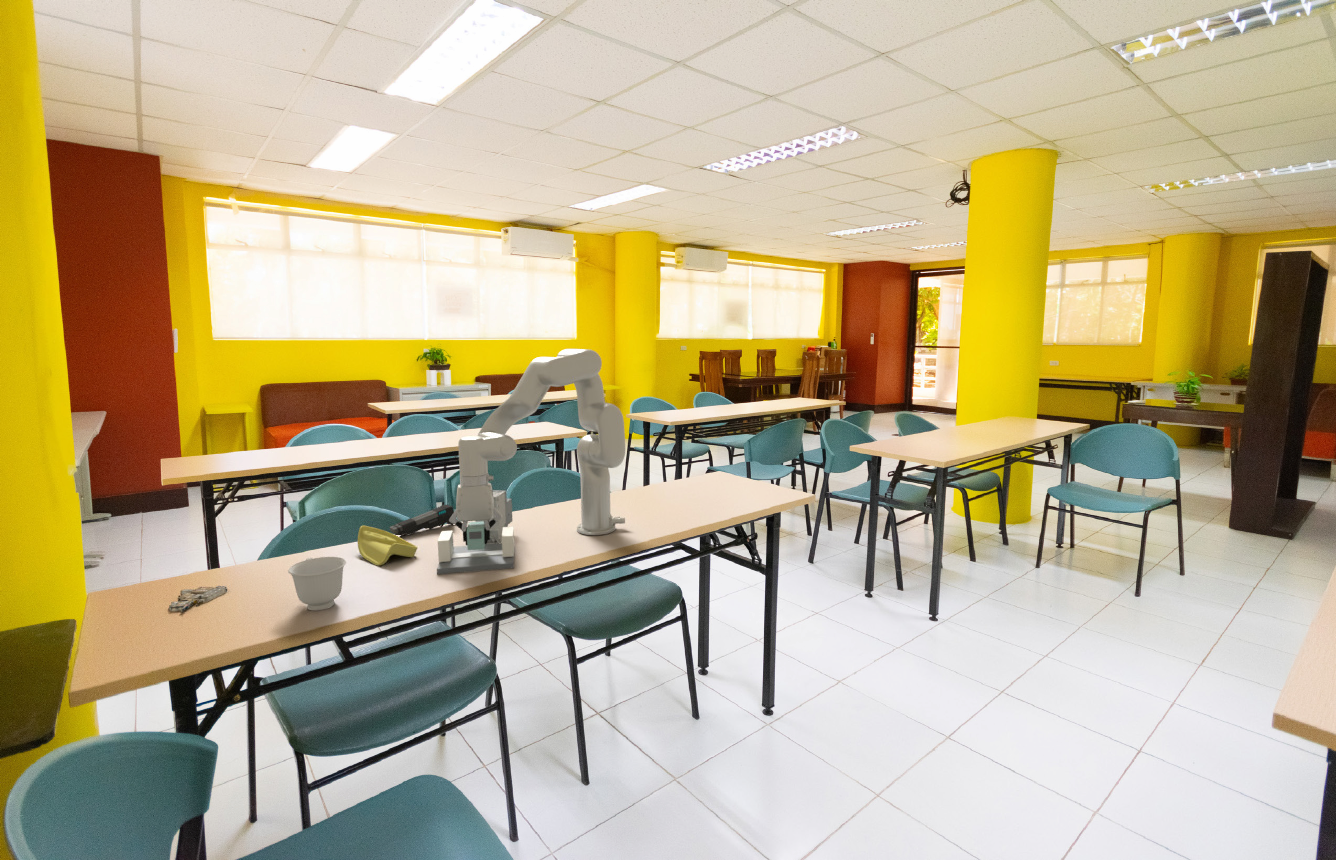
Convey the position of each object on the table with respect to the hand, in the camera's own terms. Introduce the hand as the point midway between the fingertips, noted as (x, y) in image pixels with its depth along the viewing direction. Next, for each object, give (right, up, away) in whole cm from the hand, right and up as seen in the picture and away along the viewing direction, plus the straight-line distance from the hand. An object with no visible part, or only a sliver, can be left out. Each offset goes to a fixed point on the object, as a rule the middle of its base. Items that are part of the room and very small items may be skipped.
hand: (476, 542), depth 180 cm
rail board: (0, -5, +1) cm, 5 cm away
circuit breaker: (0, -2, +22) cm, 22 cm away
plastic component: (-28, -5, +6) cm, 29 cm away
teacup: (-29, -10, -28) cm, 42 cm away
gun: (-25, -1, +28) cm, 38 cm away
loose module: (0, -1, 0) cm, 1 cm away
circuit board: (-59, -10, -26) cm, 66 cm away
